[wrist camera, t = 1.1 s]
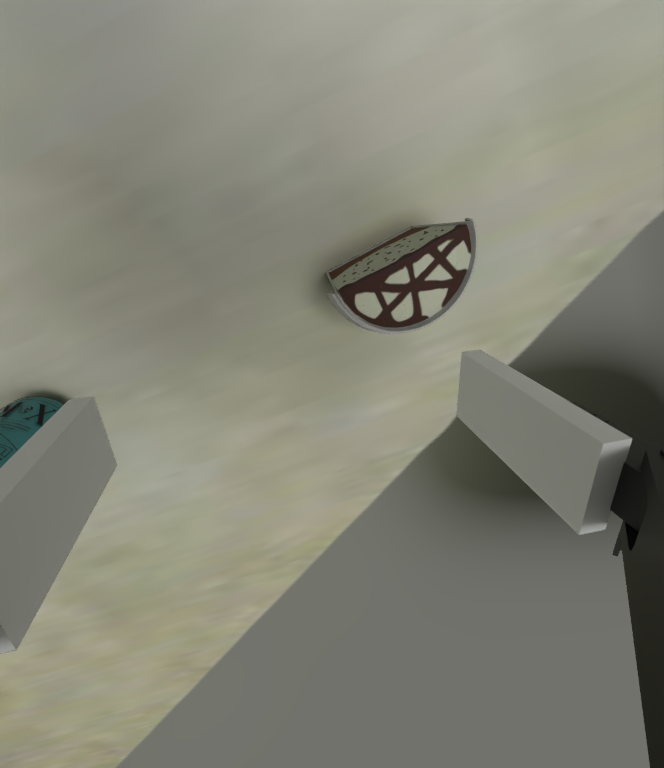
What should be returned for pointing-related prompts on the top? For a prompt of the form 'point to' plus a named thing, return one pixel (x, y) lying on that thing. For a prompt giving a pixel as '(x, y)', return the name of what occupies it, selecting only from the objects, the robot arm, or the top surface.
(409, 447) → the top surface
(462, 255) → the brown semicircular wedge
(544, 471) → the robot arm
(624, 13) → the top surface
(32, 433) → the beverage bottle
